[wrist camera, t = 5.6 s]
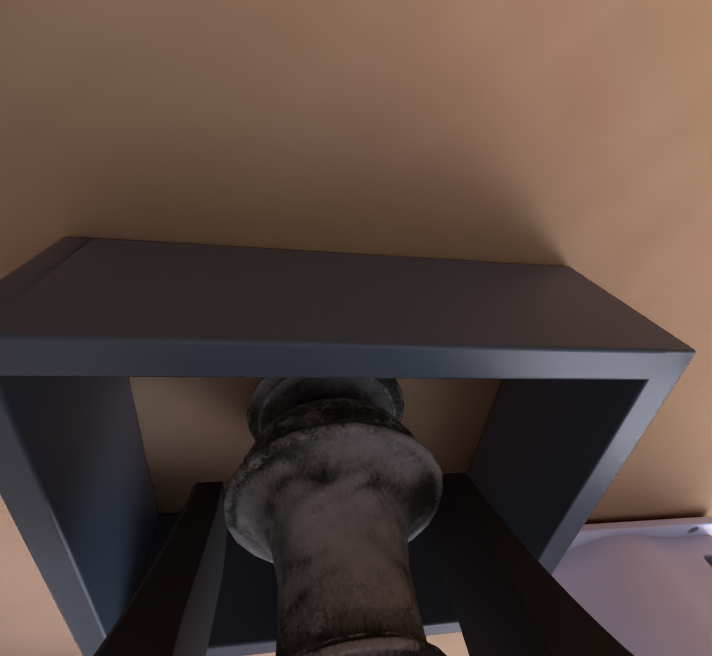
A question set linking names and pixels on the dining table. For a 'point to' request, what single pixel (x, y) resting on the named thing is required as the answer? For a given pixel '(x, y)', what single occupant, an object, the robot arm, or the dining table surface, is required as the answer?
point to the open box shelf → (301, 360)
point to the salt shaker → (336, 513)
